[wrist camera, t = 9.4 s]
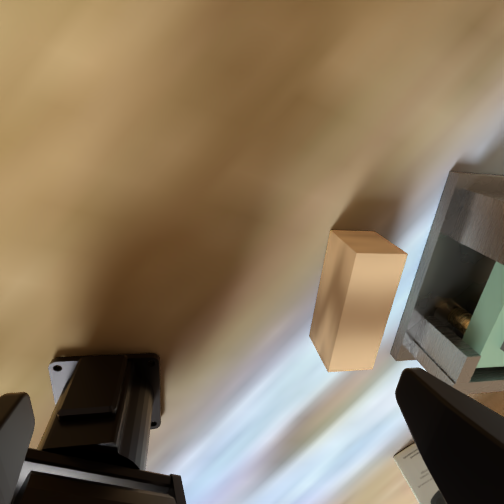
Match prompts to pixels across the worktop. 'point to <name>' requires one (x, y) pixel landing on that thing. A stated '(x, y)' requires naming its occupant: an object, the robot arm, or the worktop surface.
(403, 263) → the block
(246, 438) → the worktop surface
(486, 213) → the chassis
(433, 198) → the worktop surface
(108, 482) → the robot arm
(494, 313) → the board
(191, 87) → the worktop surface
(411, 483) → the ink box
